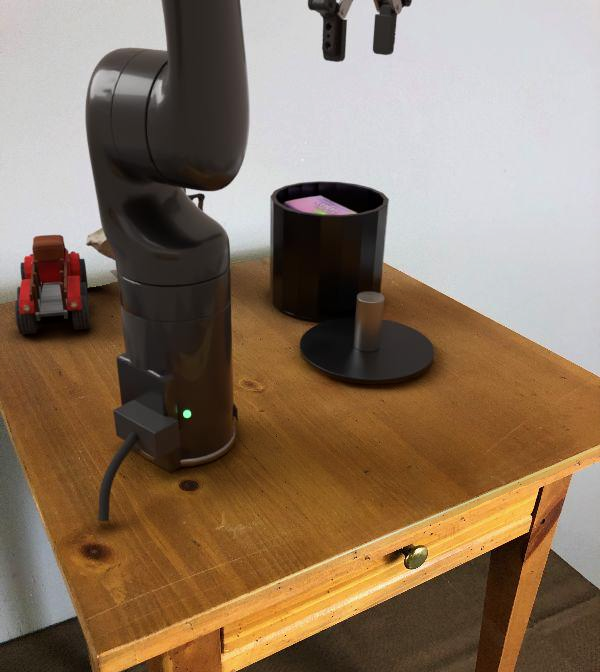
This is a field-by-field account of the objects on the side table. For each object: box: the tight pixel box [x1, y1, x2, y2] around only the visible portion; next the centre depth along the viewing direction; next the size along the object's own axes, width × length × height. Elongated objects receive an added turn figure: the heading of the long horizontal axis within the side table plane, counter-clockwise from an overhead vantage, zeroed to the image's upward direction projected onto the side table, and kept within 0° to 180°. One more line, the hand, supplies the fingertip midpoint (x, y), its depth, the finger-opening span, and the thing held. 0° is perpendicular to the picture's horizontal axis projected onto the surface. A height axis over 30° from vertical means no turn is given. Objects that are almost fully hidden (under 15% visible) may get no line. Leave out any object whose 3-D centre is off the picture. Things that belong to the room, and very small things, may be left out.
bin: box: [269, 180, 390, 324], centre depth 95 cm, size 14×14×14 cm
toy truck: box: [14, 234, 91, 336], centre depth 92 cm, size 8×18×8 cm, turn 15°
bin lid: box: [299, 292, 435, 385], centre depth 84 cm, size 15×15×7 cm
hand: (359, 57), depth 77 cm, fingers open, 8 cm apart
